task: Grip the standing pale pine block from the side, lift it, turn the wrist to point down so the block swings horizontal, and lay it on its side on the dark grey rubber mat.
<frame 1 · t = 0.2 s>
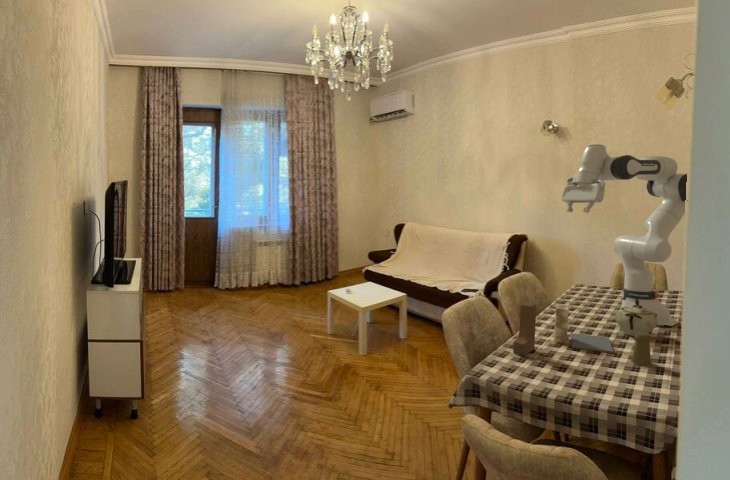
hand: (577, 212, 184), 51 cm above the table, tool tilted 20°, fingers open, 8 cm apart
sugar bowl: (634, 334, 181), on the table
grey mat: (590, 343, 170), on the table
pine block: (560, 340, 174), on the table
olive peg figure: (640, 362, 152), on the table
wooden block: (523, 351, 163), on the table
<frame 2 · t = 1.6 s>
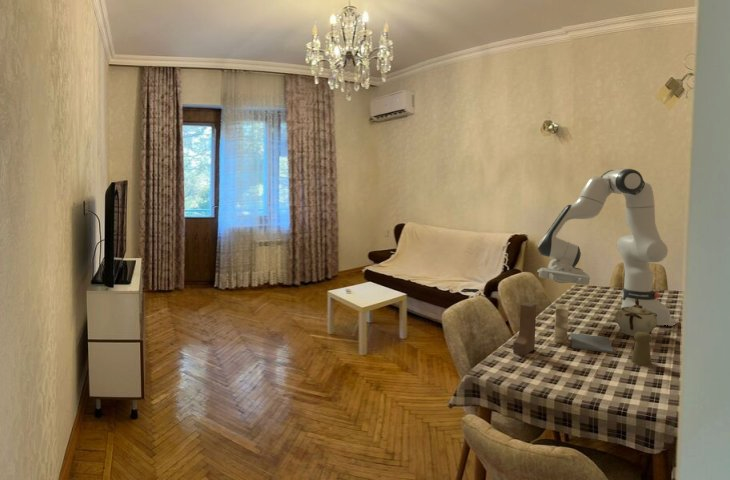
hand: (566, 280, 181), 23 cm above the table, tool horizontal, fingers open, 8 cm apart
nothing on the table moved.
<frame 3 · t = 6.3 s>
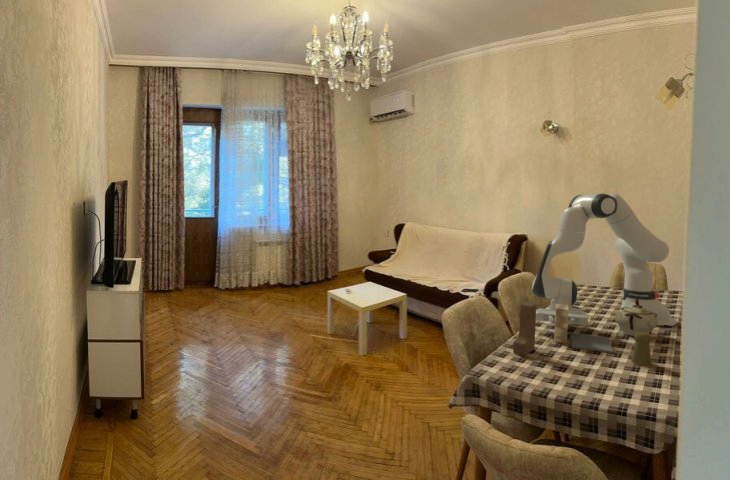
hand: (561, 322, 173), 8 cm above the table, tool horizontal, fingers closed on pine block, 4 cm apart
pine block: (560, 340, 174), on the table, touching gripper
everything else where it was.
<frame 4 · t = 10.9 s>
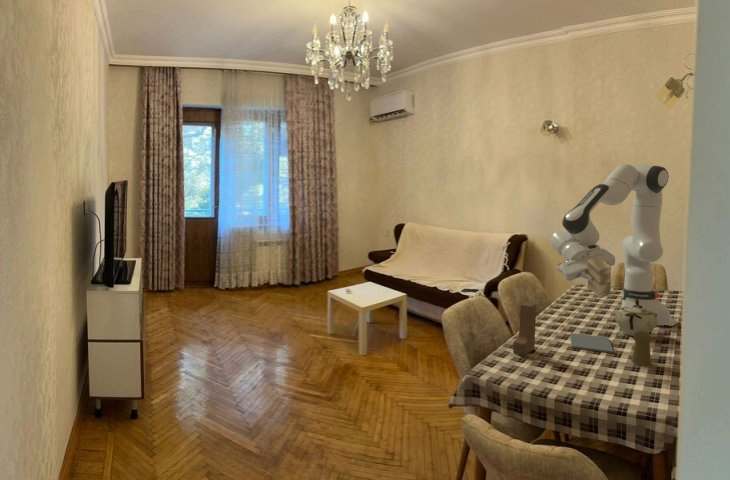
hand: (599, 276, 163), 28 cm above the table, tool tilted 65°, fingers closed on pine block, 4 cm apart
pine block: (599, 290, 167), point 22 cm above the table, tilted 31°, touching gripper
everything else where it was.
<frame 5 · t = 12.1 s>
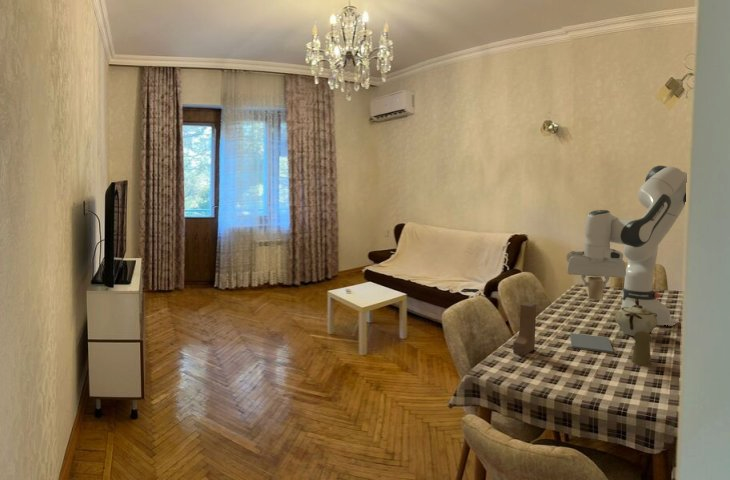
hand: (594, 287, 167), 23 cm above the table, tool pointing down, fingers closed on pine block, 4 cm apart
pine block: (592, 282, 174), point 23 cm above the table, tilted 90°, touching gripper
everything else where it was.
when the fingers open (6 cm above the table, at t = 15.6 s): pine block drops 2 cm, resting on grey mat.
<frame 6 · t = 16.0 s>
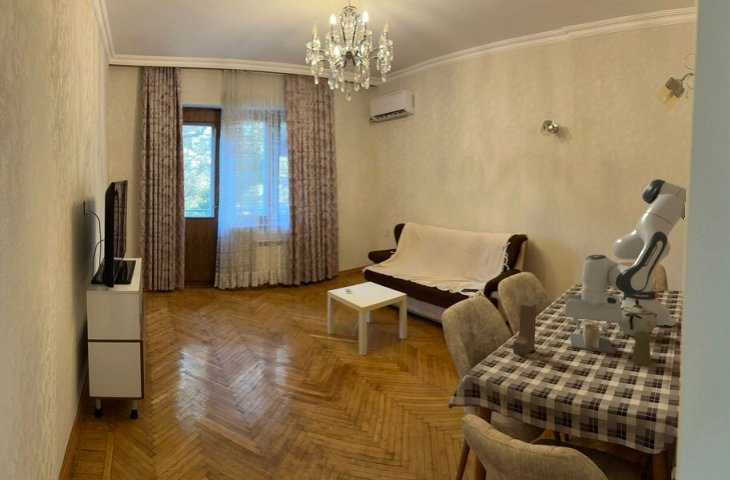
hand: (591, 329, 170), 6 cm above the table, tool pointing down, fingers open, 8 cm apart
pine block: (589, 327, 177), point 4 cm above the table, tilted 90°, touching grey mat
everything else where it was.
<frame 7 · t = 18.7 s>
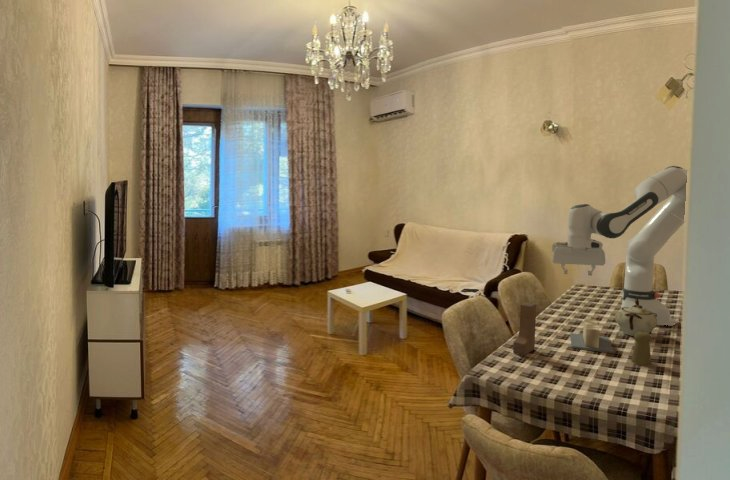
hand: (577, 274, 183), 25 cm above the table, tool pointing down, fingers open, 8 cm apart
nothing on the table moved.
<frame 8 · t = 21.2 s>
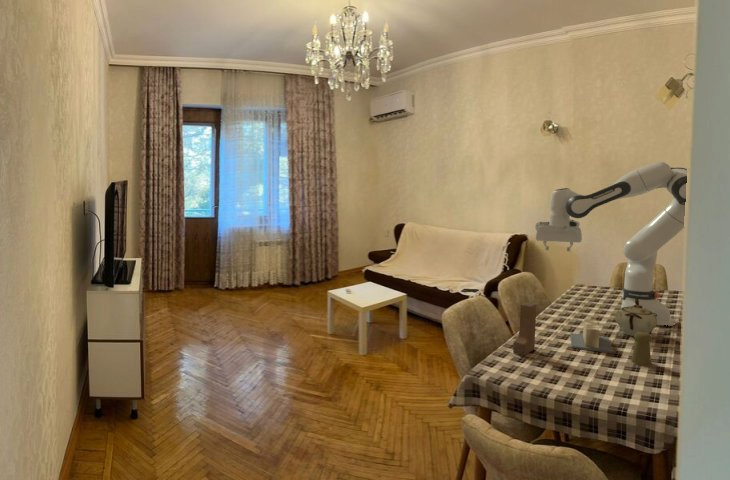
hand: (557, 250, 206), 31 cm above the table, tool pointing down, fingers open, 8 cm apart
nothing on the table moved.
at the end: pine block tilted 90°; pine block inside the target area (7.5 cm from its centre), point 4.3 cm above the table; pine block touching grey mat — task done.
